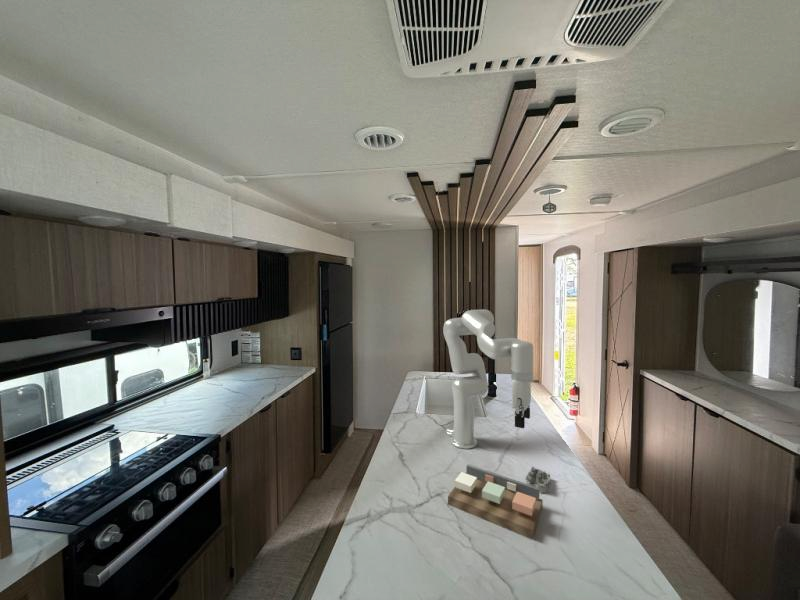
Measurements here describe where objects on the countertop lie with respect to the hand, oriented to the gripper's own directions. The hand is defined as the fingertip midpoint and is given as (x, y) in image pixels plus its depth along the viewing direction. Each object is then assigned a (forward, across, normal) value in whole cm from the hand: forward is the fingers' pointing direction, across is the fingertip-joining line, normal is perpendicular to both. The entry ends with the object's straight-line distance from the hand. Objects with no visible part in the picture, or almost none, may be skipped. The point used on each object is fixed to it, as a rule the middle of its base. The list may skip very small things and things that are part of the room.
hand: (522, 422), depth 118 cm
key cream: (+22, +13, -17) cm, 31 cm away
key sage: (+22, +14, -7) cm, 27 cm away
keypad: (+27, +12, -7) cm, 30 cm away
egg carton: (+27, -9, +4) cm, 29 cm away
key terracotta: (+22, +14, +3) cm, 26 cm away
